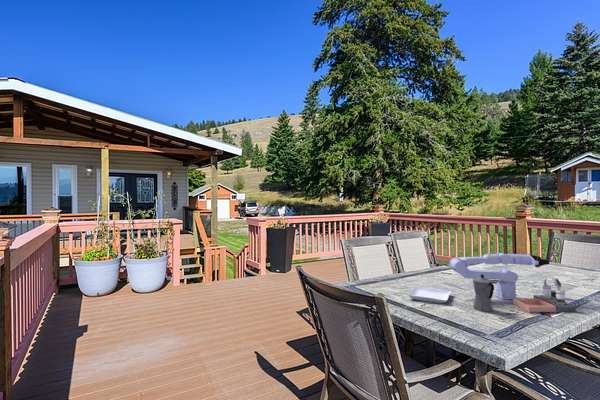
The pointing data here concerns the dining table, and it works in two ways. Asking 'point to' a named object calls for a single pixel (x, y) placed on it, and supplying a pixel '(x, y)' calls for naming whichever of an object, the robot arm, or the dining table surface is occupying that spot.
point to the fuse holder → (560, 308)
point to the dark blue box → (556, 282)
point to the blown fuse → (560, 297)
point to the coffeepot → (483, 294)
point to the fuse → (546, 292)
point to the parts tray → (534, 305)
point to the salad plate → (430, 294)
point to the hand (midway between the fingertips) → (544, 260)
